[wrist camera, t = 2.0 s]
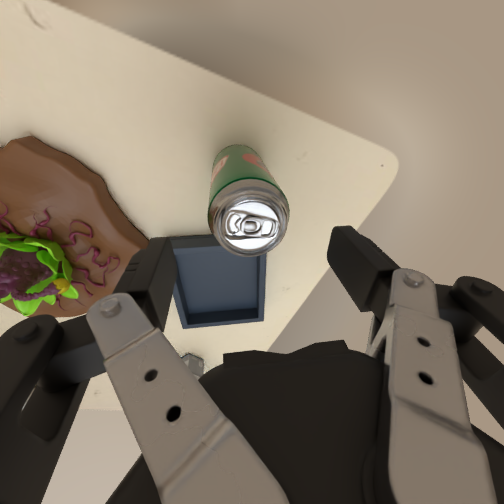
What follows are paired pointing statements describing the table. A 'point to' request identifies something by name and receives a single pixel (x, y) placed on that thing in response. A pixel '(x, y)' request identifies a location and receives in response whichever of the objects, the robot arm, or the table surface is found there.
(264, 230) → the soda can
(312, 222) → the table surface
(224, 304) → the container
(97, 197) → the plant
